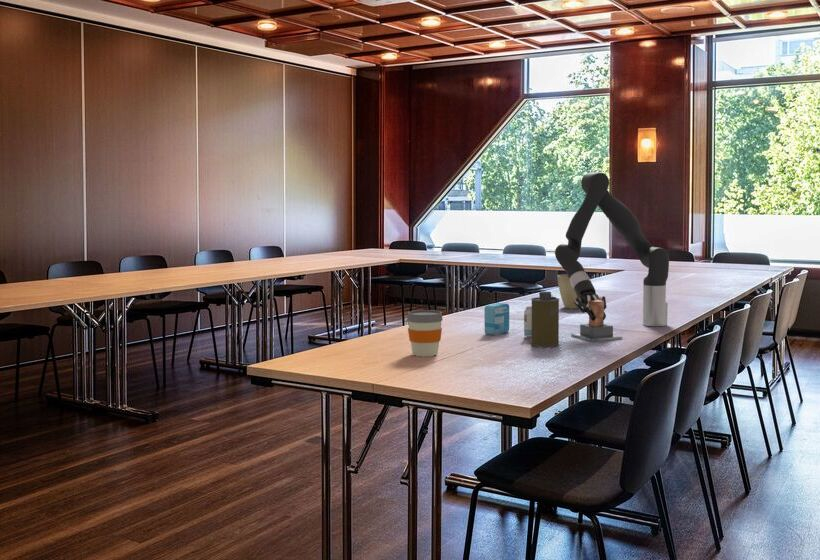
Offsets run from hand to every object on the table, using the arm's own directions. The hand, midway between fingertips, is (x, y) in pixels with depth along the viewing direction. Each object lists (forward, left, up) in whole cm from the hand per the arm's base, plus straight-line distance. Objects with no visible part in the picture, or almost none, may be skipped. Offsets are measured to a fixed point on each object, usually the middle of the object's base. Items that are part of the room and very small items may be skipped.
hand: (599, 319), depth 325 cm
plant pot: (-40, -81, -8) cm, 91 cm away
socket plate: (0, -2, -8) cm, 8 cm away
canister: (+26, +3, -8) cm, 27 cm away
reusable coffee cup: (+74, +1, -8) cm, 74 cm away
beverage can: (+22, -13, -8) cm, 27 cm away
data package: (+30, -28, -8) cm, 42 cm away
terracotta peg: (0, -2, -5) cm, 5 cm away
